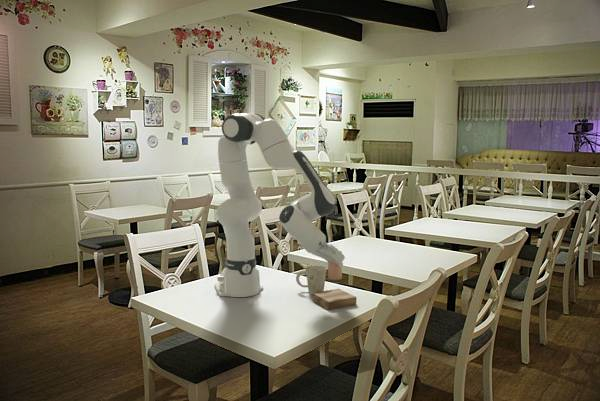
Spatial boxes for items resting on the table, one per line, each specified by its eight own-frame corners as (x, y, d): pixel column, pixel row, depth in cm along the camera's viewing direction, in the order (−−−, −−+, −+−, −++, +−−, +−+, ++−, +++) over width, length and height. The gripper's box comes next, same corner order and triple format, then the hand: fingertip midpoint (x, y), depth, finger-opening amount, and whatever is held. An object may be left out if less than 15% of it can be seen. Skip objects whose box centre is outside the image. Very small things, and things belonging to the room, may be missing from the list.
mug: (324, 295, 198) (324, 271, 197) (293, 294, 201) (293, 269, 200) (327, 289, 206) (327, 266, 205) (297, 288, 209) (297, 264, 208)
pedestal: (312, 300, 193) (312, 293, 192) (338, 295, 198) (338, 288, 198) (329, 310, 182) (329, 302, 182) (356, 304, 188) (356, 297, 187)
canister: (325, 277, 190) (325, 248, 189) (336, 275, 192) (336, 246, 191) (332, 280, 185) (332, 250, 184) (344, 278, 188) (344, 249, 187)
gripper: (334, 238, 174) (357, 262, 180) (305, 230, 192) (327, 252, 198) (323, 253, 173) (346, 276, 179) (295, 242, 191) (317, 264, 196)
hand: (336, 263), depth 189 cm, fingers closed on canister, 5 cm apart
